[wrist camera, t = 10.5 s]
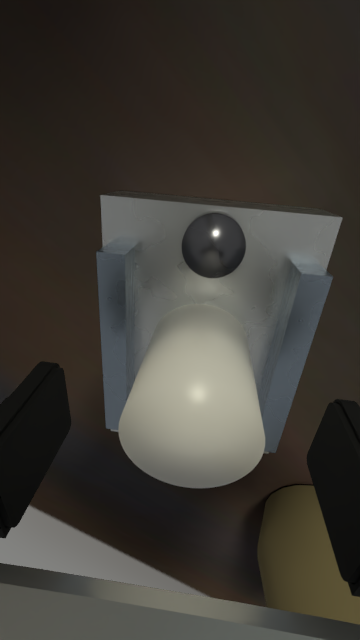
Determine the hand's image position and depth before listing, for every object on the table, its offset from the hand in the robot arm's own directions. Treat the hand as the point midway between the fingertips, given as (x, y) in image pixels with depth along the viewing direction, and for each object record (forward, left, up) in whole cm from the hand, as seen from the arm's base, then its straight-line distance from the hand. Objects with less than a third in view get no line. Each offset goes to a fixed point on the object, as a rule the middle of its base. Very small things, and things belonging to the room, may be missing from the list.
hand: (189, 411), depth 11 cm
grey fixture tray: (+1, 0, -8) cm, 8 cm away
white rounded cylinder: (+1, 0, -5) cm, 5 cm away
